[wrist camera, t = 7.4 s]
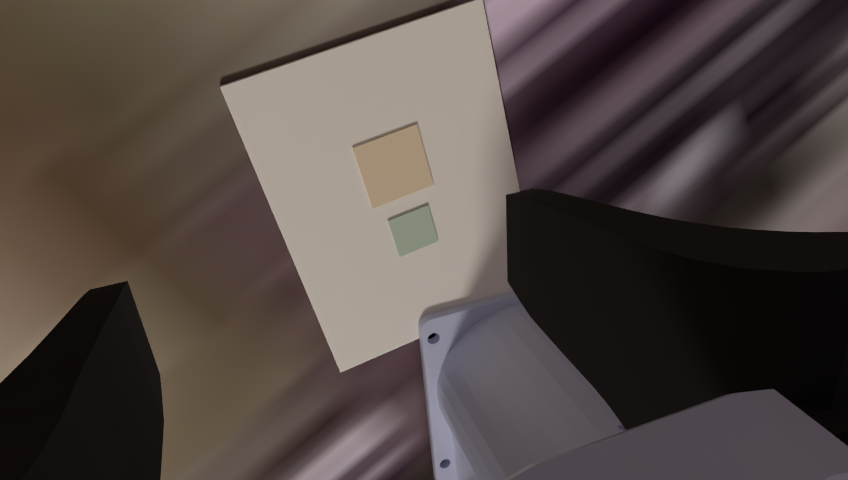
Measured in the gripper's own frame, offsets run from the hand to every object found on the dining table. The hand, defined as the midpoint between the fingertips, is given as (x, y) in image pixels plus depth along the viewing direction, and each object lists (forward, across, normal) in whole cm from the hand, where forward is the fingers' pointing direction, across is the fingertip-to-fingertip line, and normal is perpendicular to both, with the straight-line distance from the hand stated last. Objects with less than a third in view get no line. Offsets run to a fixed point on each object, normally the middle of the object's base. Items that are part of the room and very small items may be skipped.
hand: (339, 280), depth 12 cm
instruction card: (+10, -4, +4) cm, 12 cm away
